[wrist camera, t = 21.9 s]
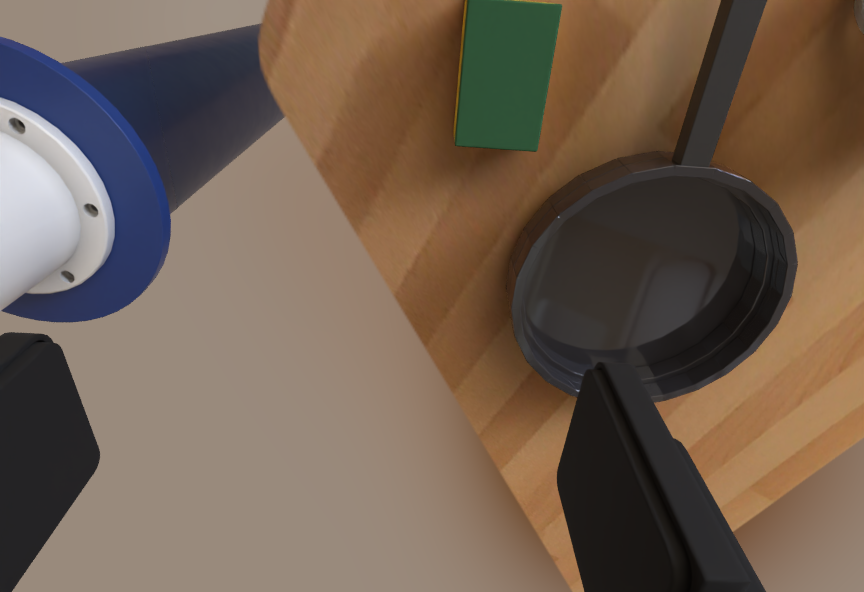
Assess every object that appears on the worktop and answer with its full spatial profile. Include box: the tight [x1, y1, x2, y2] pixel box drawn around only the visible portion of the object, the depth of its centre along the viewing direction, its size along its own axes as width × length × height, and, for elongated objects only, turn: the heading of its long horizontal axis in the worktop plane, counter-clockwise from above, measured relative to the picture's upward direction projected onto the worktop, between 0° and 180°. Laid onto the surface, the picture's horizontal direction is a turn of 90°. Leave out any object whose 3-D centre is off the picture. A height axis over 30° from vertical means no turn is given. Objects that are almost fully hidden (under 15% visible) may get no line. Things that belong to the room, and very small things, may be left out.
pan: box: [506, 151, 798, 403], centre depth 34 cm, size 17×17×4 cm
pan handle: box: [672, 0, 767, 167], centre depth 26 cm, size 2×11×1 cm, turn 176°
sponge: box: [453, 0, 562, 152], centre depth 27 cm, size 4×7×3 cm, turn 176°
